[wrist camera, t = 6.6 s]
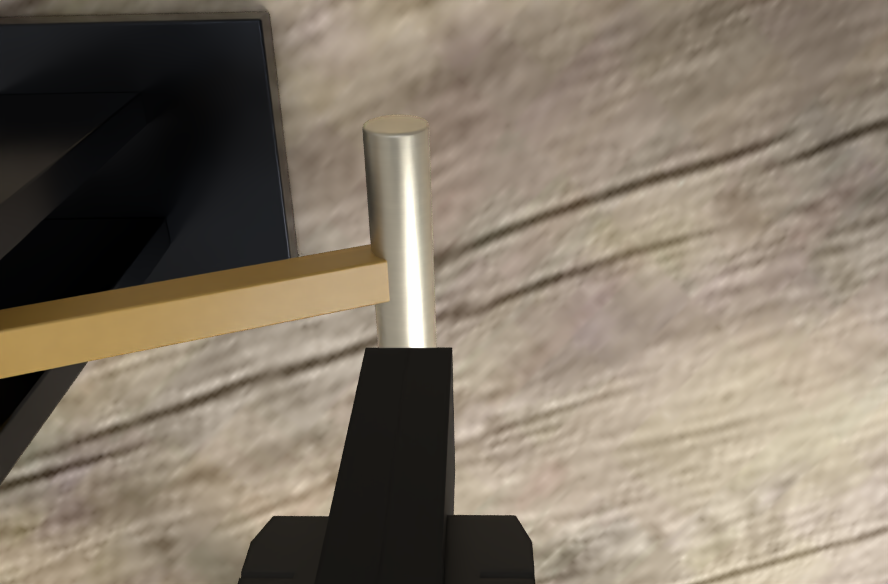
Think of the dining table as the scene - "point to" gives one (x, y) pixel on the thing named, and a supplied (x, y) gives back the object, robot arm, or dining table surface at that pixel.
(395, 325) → the lever
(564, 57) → the dining table surface
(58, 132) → the bracket
